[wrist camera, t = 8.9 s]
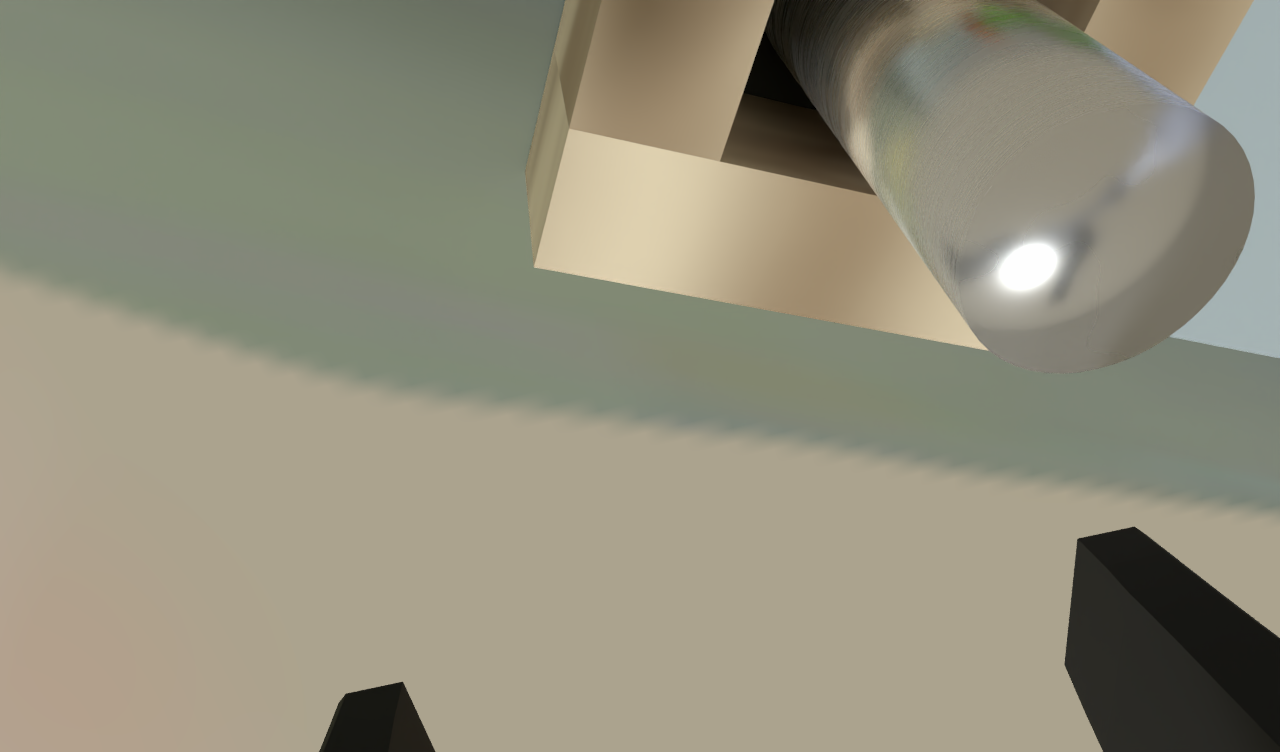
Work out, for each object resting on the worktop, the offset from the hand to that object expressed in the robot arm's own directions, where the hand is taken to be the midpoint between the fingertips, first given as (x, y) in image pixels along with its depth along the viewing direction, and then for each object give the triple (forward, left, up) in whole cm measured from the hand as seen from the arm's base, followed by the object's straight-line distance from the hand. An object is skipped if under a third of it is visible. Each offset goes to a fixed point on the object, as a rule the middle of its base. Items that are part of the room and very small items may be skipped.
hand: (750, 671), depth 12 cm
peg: (-4, -4, -10) cm, 12 cm away
